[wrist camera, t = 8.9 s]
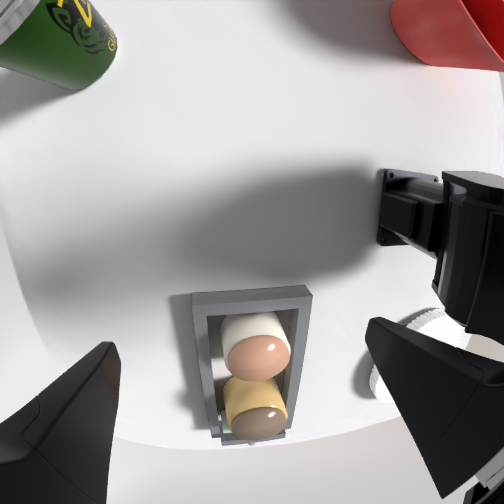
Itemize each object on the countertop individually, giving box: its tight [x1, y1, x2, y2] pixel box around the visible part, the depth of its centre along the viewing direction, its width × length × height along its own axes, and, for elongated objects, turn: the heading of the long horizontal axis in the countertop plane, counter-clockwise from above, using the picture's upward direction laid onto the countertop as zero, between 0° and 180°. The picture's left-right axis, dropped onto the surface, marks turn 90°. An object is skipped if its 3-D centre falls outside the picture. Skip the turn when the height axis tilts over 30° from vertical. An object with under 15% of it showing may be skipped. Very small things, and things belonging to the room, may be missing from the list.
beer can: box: [0, 0, 117, 90], centre depth 8 cm, size 5×5×12 cm
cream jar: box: [220, 311, 291, 382], centre depth 21 cm, size 5×5×4 cm
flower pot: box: [390, 0, 504, 72], centre depth 11 cm, size 11×11×10 cm
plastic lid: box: [369, 308, 461, 404], centre depth 28 cm, size 14×14×2 cm
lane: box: [192, 285, 313, 446], centre depth 23 cm, size 9×18×3 cm, turn 0°
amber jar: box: [223, 376, 288, 441], centre depth 24 cm, size 6×6×5 cm
